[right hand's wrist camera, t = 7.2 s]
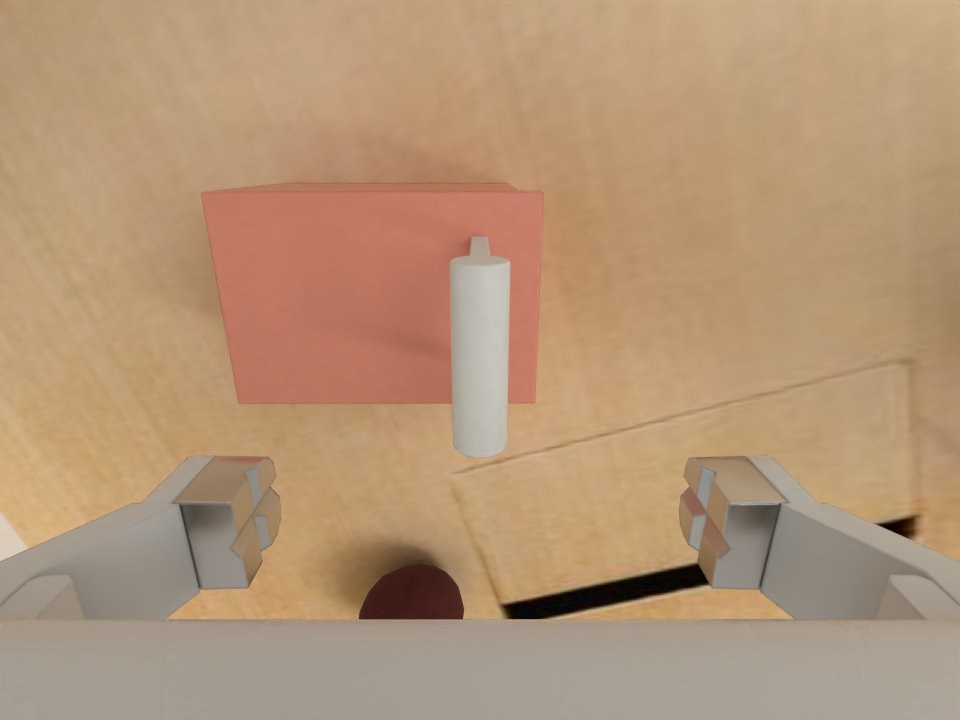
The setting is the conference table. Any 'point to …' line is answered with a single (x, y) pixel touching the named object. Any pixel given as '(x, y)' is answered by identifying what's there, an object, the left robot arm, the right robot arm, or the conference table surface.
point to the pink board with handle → (383, 300)
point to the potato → (414, 596)
